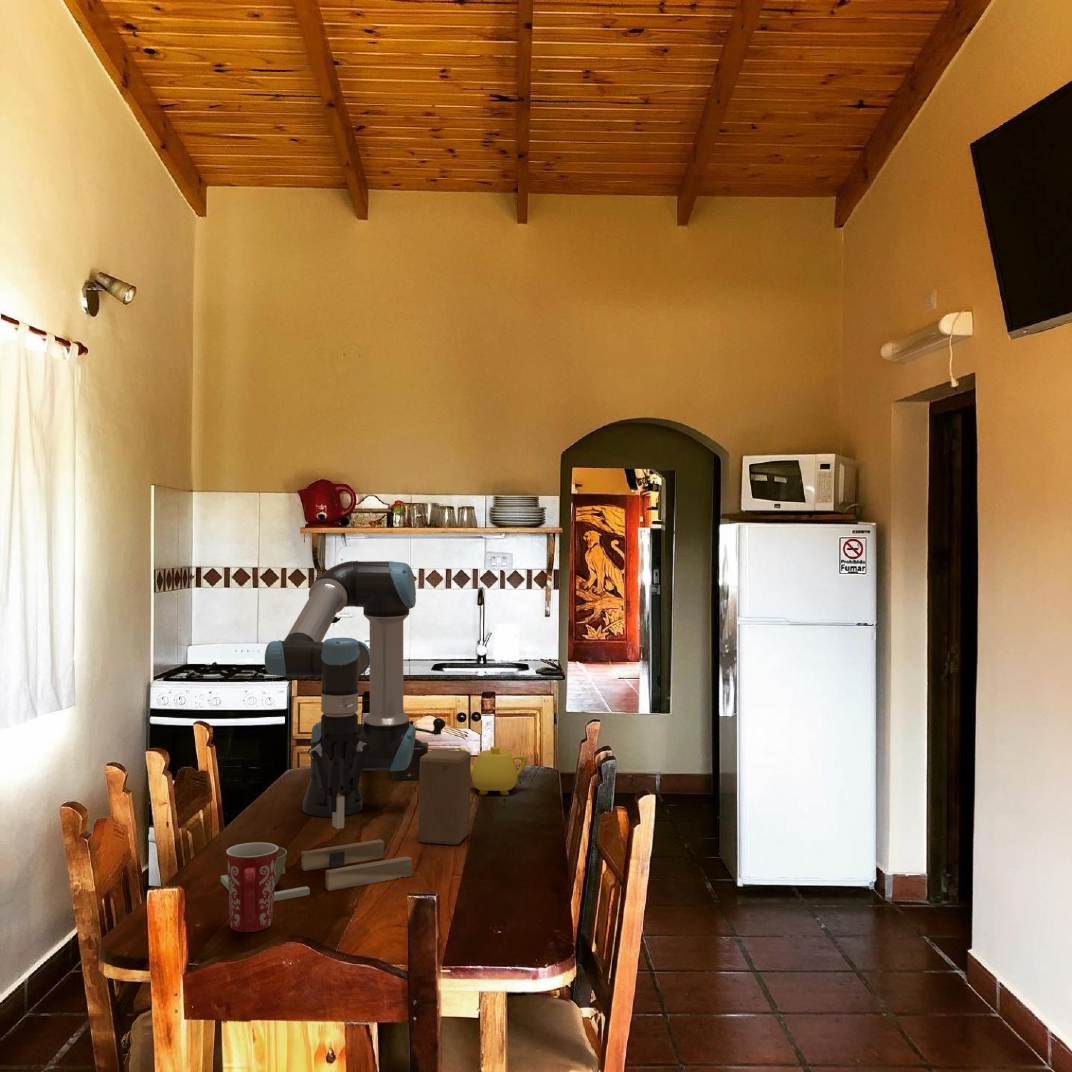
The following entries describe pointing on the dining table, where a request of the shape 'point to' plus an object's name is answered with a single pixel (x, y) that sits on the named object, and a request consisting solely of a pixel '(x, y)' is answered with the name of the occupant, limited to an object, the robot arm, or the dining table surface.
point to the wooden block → (444, 796)
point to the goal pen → (280, 894)
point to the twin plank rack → (356, 873)
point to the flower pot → (280, 862)
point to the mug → (251, 885)
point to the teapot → (495, 770)
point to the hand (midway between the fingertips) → (338, 826)
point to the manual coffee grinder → (418, 753)
